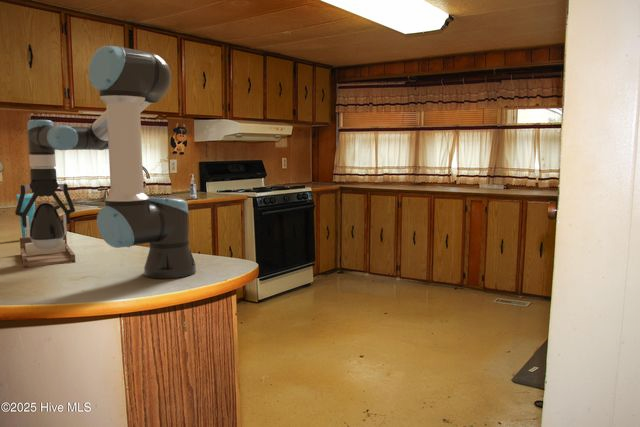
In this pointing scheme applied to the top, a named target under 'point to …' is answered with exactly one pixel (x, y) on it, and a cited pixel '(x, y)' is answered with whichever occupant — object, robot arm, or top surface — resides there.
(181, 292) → the top surface
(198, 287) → the top surface
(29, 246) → the pusher
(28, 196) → the tube
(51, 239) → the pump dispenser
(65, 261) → the brown wooden tray
